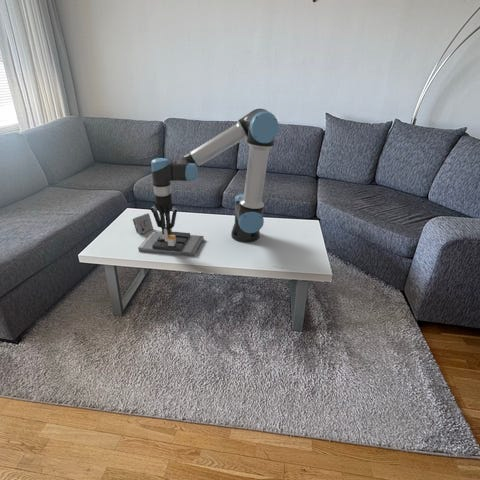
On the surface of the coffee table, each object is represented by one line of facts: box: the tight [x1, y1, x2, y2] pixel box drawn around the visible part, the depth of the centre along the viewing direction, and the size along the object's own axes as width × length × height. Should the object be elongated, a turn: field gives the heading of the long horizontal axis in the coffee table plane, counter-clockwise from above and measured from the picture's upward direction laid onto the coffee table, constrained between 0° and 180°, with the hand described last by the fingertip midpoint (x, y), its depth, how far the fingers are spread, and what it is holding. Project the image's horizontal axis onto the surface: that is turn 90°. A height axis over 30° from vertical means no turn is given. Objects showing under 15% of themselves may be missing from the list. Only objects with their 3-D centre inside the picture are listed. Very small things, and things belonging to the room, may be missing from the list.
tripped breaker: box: [167, 235, 176, 246], centre depth 159 cm, size 3×3×4 cm
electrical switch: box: [132, 213, 154, 235], centre depth 179 cm, size 9×5×9 cm, turn 141°
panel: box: [137, 231, 205, 258], centre depth 166 cm, size 28×18×4 cm, turn 81°
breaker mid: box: [158, 228, 165, 239], centre depth 165 cm, size 3×3×4 cm
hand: (167, 240), depth 159 cm, fingers closed
